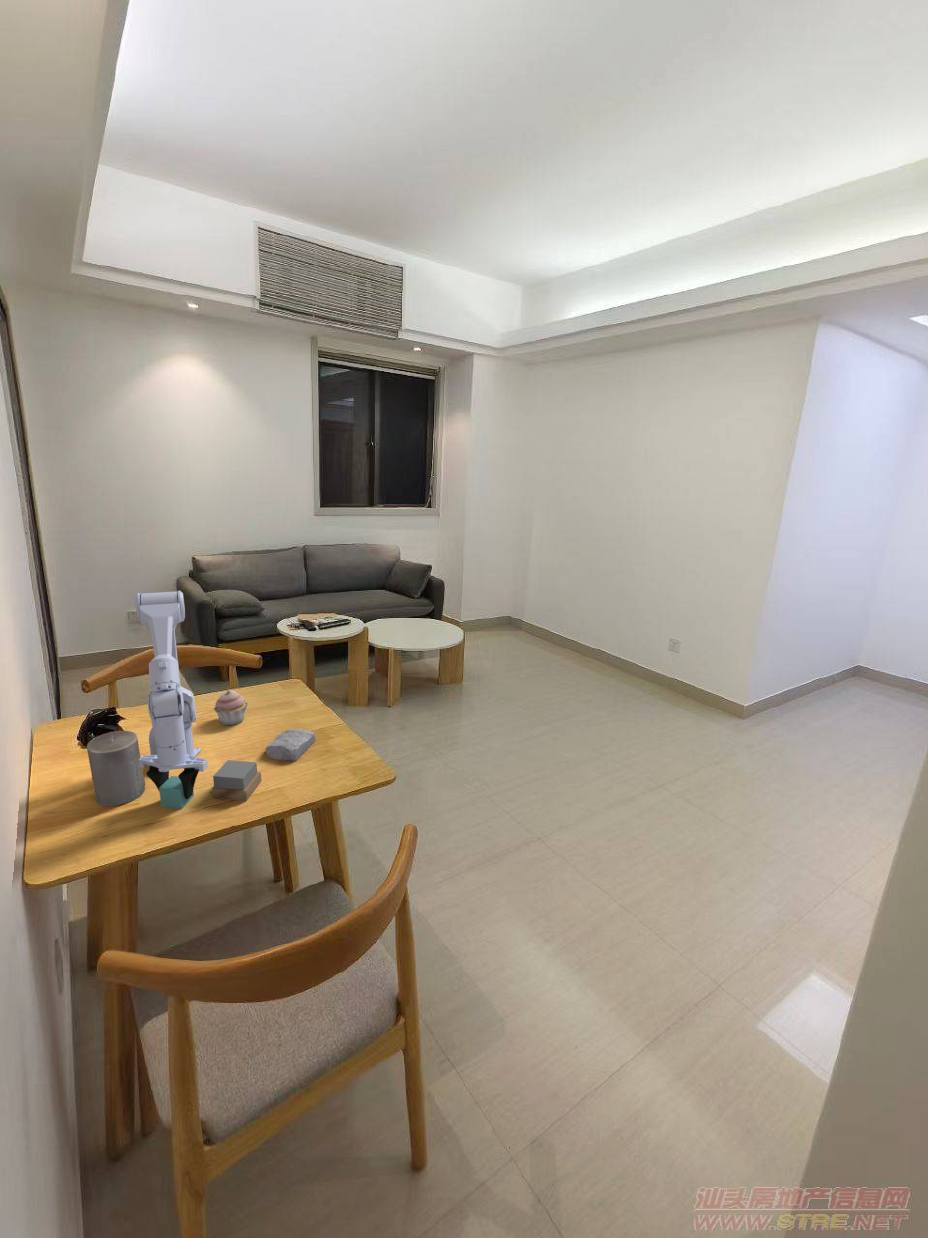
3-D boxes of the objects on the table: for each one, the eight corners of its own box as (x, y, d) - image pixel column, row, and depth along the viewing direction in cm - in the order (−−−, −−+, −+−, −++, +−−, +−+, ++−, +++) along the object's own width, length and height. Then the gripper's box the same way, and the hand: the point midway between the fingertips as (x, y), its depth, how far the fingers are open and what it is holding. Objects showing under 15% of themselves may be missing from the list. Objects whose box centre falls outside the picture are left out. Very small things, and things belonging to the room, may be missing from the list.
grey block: (214, 787, 126) (213, 776, 125) (228, 771, 133) (228, 760, 132) (244, 790, 126) (243, 778, 125) (257, 773, 133) (256, 762, 132)
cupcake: (213, 717, 165) (210, 686, 162) (246, 711, 169) (244, 681, 166) (216, 731, 157) (213, 698, 154) (251, 724, 161) (248, 693, 158)
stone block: (264, 764, 145) (298, 762, 142) (259, 747, 144) (294, 745, 141) (287, 744, 156) (319, 742, 154) (283, 728, 155) (315, 726, 153)
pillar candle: (113, 781, 132) (104, 724, 127) (154, 783, 131) (145, 726, 127) (85, 806, 122) (74, 745, 118) (129, 808, 122) (119, 748, 118)
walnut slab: (212, 800, 127) (211, 788, 126) (229, 780, 134) (228, 769, 134) (246, 802, 126) (245, 791, 126) (261, 783, 134) (260, 772, 133)
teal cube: (161, 807, 123) (159, 788, 122) (173, 794, 127) (171, 776, 126) (182, 808, 123) (180, 789, 121) (194, 795, 127) (191, 777, 126)
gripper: (126, 748, 117) (134, 804, 121) (193, 753, 117) (199, 808, 120) (147, 732, 124) (154, 785, 128) (210, 736, 123) (215, 790, 127)
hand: (177, 795), depth 125 cm, fingers closed on teal cube, 5 cm apart
